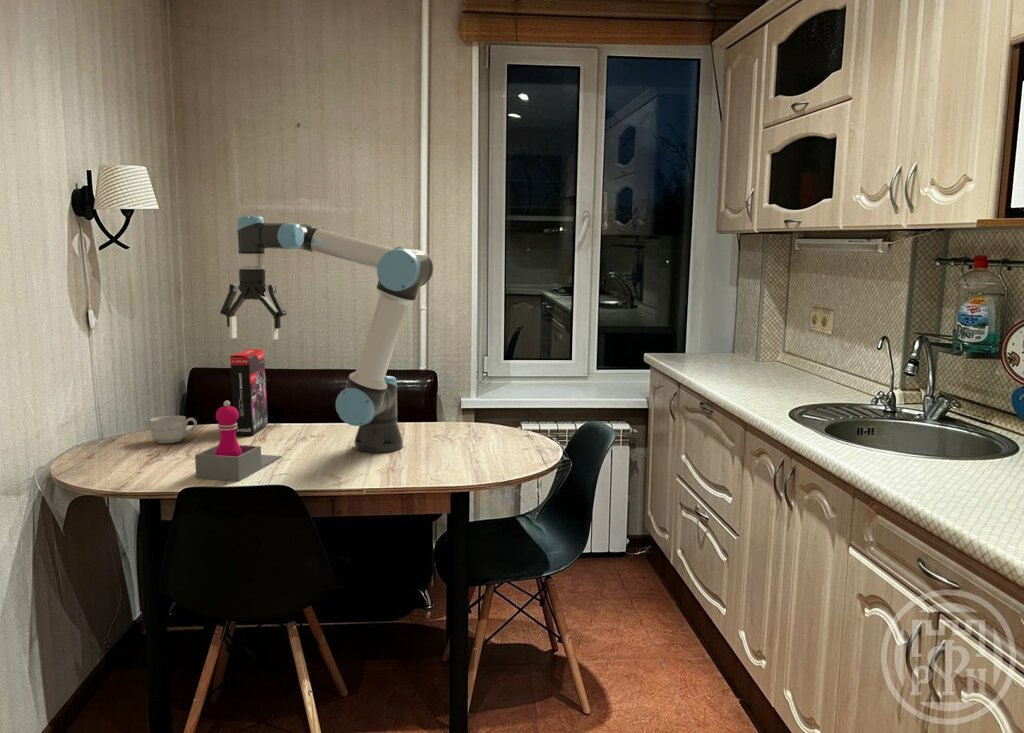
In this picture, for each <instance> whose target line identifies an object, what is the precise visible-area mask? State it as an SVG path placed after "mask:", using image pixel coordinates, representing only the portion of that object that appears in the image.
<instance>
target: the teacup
mask: <svg viewBox="0 0 1024 733" xmlns="http://www.w3.org/2000/svg"><path fill="white" fill-rule="evenodd" d="M189 422H193V426H192V427H191V428H189V429H187V426H188V423H189ZM149 423H150V425H149V426H150V434H151V438H152V440H154V441H156V442H157V443H158V444H175V443H179V442H181V441H182V440H183V439H184V438H185V437H187V436H188V435H189V434H190V433H191V432H193V431H194V430H195V429H196V428H197V426H198V422H197V420H196V419H195V418H194V417H188V418H187V417H186V416H185V415H166V416H157V417H153V418H152V417H151V418H150V419H149Z"/></svg>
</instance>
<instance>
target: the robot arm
mask: <svg viewBox="0 0 1024 733" xmlns="http://www.w3.org/2000/svg"><path fill="white" fill-rule="evenodd" d="M236 234H237V248H238V249H237V250H238V252H237V254H238V268H240V269H239V270H238V280H239V284H237V283H232V284H231V283H230V284H229V291H228V293H227V296H226V298H225V301H224V302H223V305H222V308H221V309H220V315H223V316H226V325H227V326H226V327H227V328H229V339H237V337H238V330H237V326H238V325H237V315H236V316H235V314H236V313H237V311H238V310H239V309H240V307H241V306H242V305H243V304H244V303H245V301H246V300H254V301H255V300H259V301H260V302H261V303H262V304H263V305H264V307H265V308H266V309H267V310H268V312H269V313H270V314H271V315H272V317H271V324H270V325H271V341H276V340H279V329H281V327H282V326H281V325H282V324H281V322H282V321H281V318H282V317H285V316H287V311H286V309H285V307H284V305H283V303H282V301H281V299H280V296H279V294H278V293H277V288H276V285H275V284H269V285H266V270H265V269H264V268H266V267H265V266H266V263H265V262H266V260H265V259H266V258H265V257H266V256H265V249H272V250H275V249H276V250H278V249H280V250H303V251H307V252H310V253H315V254H318V255H322V256H326V257H330V258H334V259H335V260H336V259H337V260H340V261H343V262H348V263H352V264H355V265H358V266H362V267H366V268H369V269H374V270H376V275H377V278H378V282H377V285H376V290H377V293H378V295H379V296H378V300H377V303H376V305H375V308H374V313H373V316H372V318H371V322H370V325H369V328H368V331H367V335H366V338H365V341H364V344H363V347H362V350H361V355H360V357H359V361H358V364H357V366H356V370H355V371H354V372H351V373H350V374H349V376H348V378H347V382H346V385H345V388H344V389H343V390H341V391H340V393H338V395H337V397H336V399H335V410H336V413H337V415H338V417H339V418H340V419H341V420H342V421H343V422H344V423H345V424H348V425H350V426H353V427H358V428H357V432H356V435H355V439H354V449H355V450H356V451H359V452H365V453H388V452H389V453H390V452H395V451H399V450H401V449H402V448H403V447H404V444H403V443H404V440H403V437H402V434H401V431H400V427H399V424H398V388H399V387H398V384H397V378H396V377H395V376H392V375H387V372H388V368H389V365H390V362H391V359H392V356H393V352H394V349H395V347H396V343H397V341H398V337H399V335H400V332H401V327H402V325H403V322H404V318H405V315H406V313H407V308H408V306H409V304H412V303H413V302H415V301H416V299H417V295H418V292H419V288H421V287H422V286H425V285H427V283H428V282H429V281H430V280H431V279H432V276H433V273H434V272H433V271H434V264H433V261H432V259H431V257H430V256H429V254H428V253H426V252H425V251H423V250H421V249H420V248H406V247H403V246H398V245H397V246H395V247H390V246H385V245H382V244H378V243H374V242H371V241H366V240H363V239H360V238H356V237H351V236H348V235H344V234H340V233H337V232H333V231H329V230H325V229H320V228H317V227H315V226H313V225H309V224H305V223H303V224H302V223H301V224H299V223H294V222H293V223H292V222H285V223H284V222H275V223H274V222H272V223H271V222H270V223H268V222H265V221H264V217H262V216H258V215H257V216H256V215H250V216H249V215H240V216H239V217H238V218H237V229H236ZM238 291H239V292H240V294H239V295H238V296H237V299H236V300H235V297H236V295H237V292H238ZM266 291H267V292H268V294H269V296H270V299H271V301H270V299H269V297H268V295H266V293H265V292H266ZM234 300H235V302H234ZM233 302H234V303H233Z"/></svg>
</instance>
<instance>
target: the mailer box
mask: <svg viewBox="0 0 1024 733" xmlns="http://www.w3.org/2000/svg"><path fill="white" fill-rule="evenodd" d="M218 445H219V443H218V444H217V445H214V446H212V447H209V448H207V449H205V450H202V451H200V452H198V453H196V454H195V455H194V459H195V461H194V462H195V479H199V480H215V481H229V482H240V481H242V480H244V479H246V478H248V477H250V476H251V475H253V474H255V473H257V472H258V471H261V470H263V469H264V468H266V467H268V466H269V464H270V465H271V463H272V464H273V463H275V462H277V461H279V460H280V458H281V457H282V455H274V454H273V455H272V454H271V455H270V454H262V448H261V447H262V446H259V445H246V444H245V445H244V444H239V446H240V448H241V450H242V454H241V455H239V456H220V455H215V453H216V450H217V447H218ZM278 459H279V460H278ZM281 459H282V458H281ZM276 460H277V461H276ZM274 461H275V462H274Z"/></svg>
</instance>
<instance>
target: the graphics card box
mask: <svg viewBox="0 0 1024 733" xmlns="http://www.w3.org/2000/svg"><path fill="white" fill-rule="evenodd" d="M229 359H230V373H231V374H230V375H231V391H232V407H235V408H236V409H237V410H238V413H239V418H238V420H237V421H236V423H237V429H236V436H237V437H239V436H240V437H241V436H242V437H243V436H247V437H248V436H254V435H256V434H257V433H258V432H260V431H262V429H263V428H265V427H266V426H267V425H268V424H269V423H268V422H269V421H268V403H267V402H268V401H267V400H268V399H267V385H266V384H267V382H266V368H265V367H266V364H265V362H266V360H265V350H263V349H259V348H258V349H255V348H251V349H250V348H246V349H245V350H242V351H240V352H237V353H234V354H230V358H229Z"/></svg>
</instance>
